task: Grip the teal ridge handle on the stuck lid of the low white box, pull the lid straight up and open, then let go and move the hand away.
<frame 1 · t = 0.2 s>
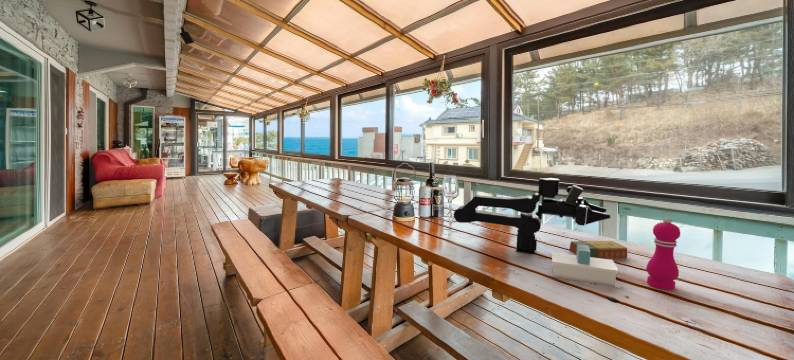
hand: (608, 213, 110), 17 cm above the table, tool horizontal, fingers open, 9 cm apart
box base: (581, 276, 100), on the table
pepper mill: (660, 286, 94), on the table
lid: (583, 255, 99), point 6 cm above the table, slide at 0.0 cm
carton: (597, 255, 119), on the table
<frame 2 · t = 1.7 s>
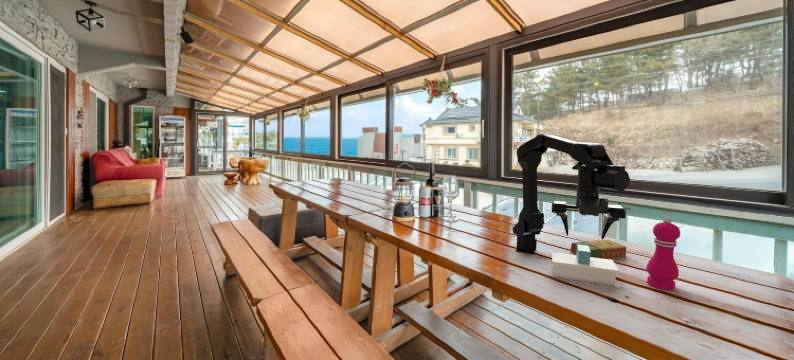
hand: (584, 237, 98), 12 cm above the table, tool pointing down, fingers open, 9 cm apart
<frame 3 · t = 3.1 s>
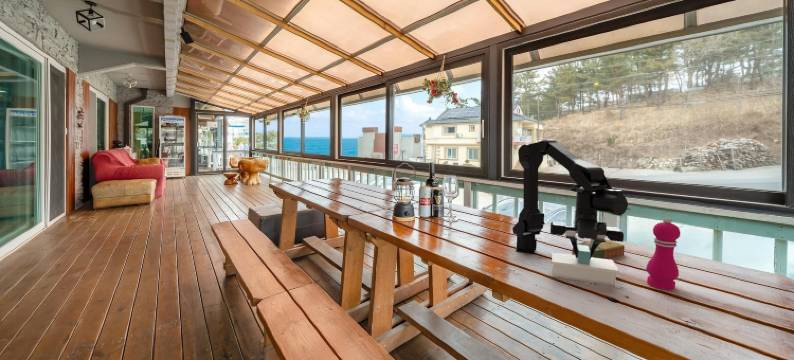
hand: (582, 258, 99), 6 cm above the table, tool pointing down, fingers closed on lid, 3 cm apart
lid: (583, 255, 99), point 6 cm above the table, slide at 0.0 cm, touching gripper
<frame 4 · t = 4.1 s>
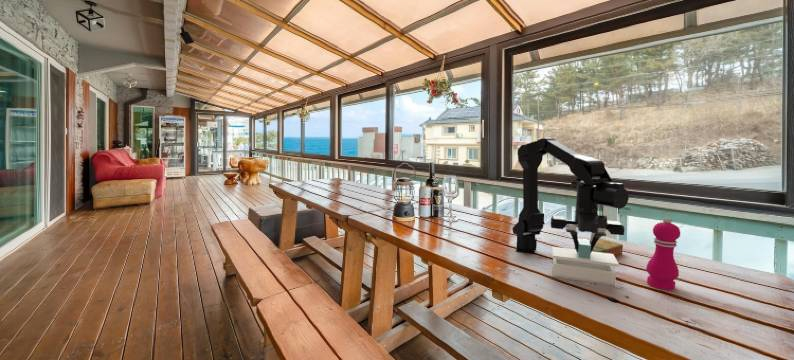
hand: (583, 252, 99), 8 cm above the table, tool pointing down, fingers closed on lid, 3 cm apart
lid: (583, 249, 99), point 8 cm above the table, slide at 1.9 cm, touching gripper
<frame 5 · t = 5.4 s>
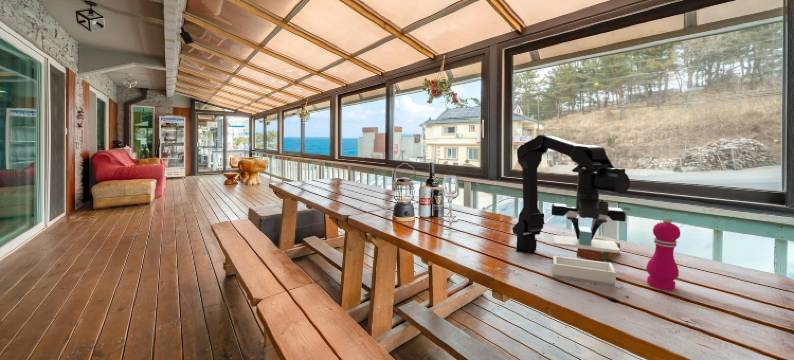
hand: (584, 239, 98), 12 cm above the table, tool pointing down, fingers closed on lid, 3 cm apart
lid: (584, 236, 98), point 12 cm above the table, slide at 5.9 cm, touching gripper
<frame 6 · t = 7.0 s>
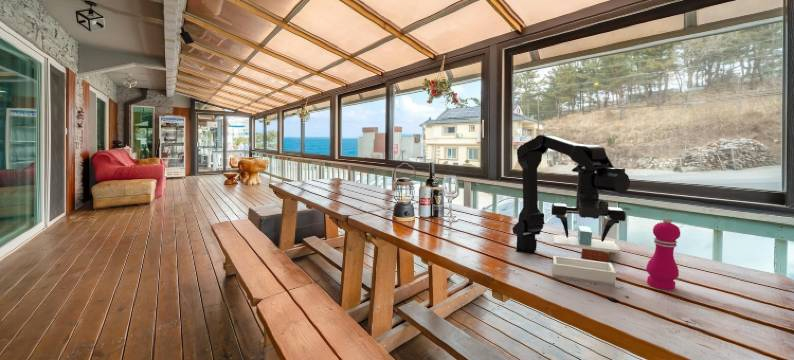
hand: (584, 239, 98), 12 cm above the table, tool pointing down, fingers open, 9 cm apart
lid: (584, 236, 98), point 12 cm above the table, slide at 5.9 cm
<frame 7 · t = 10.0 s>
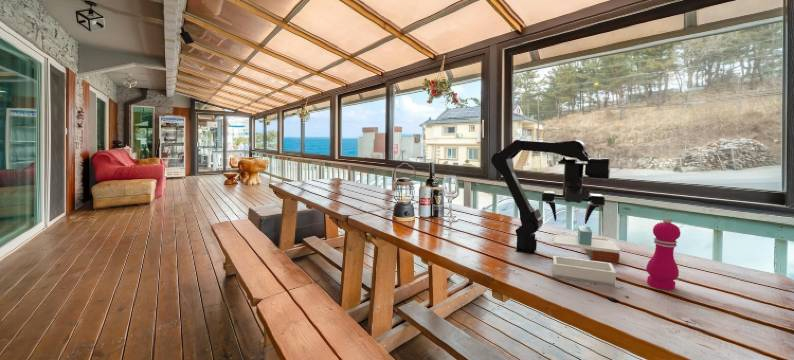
hand: (570, 222, 113), 13 cm above the table, tool pointing down, fingers open, 9 cm apart
at the end: lid slide at 5.9 cm; the gripper is holding nothing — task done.
